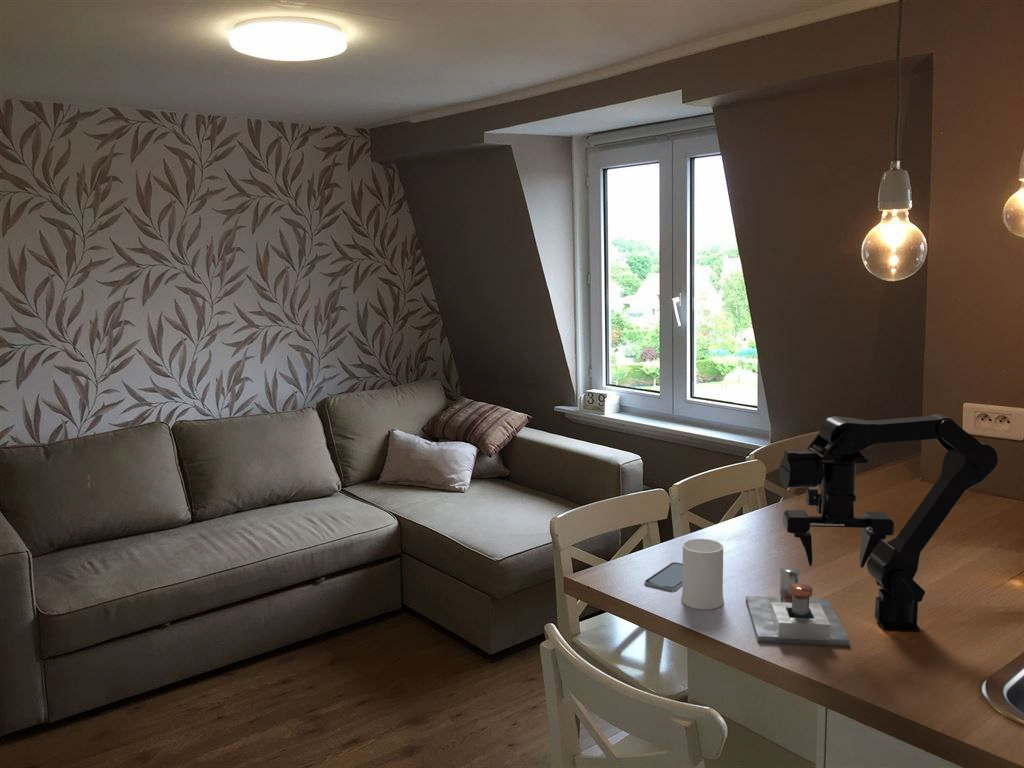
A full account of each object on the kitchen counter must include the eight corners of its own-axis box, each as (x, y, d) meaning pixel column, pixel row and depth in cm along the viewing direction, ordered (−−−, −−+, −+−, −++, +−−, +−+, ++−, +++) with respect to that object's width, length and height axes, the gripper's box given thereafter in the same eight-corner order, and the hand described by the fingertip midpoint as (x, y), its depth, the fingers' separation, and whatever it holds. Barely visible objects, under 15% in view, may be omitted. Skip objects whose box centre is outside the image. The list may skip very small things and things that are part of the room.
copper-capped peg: (808, 623, 159) (810, 583, 158) (813, 633, 155) (814, 592, 154) (786, 623, 160) (788, 583, 158) (790, 632, 156) (791, 591, 154)
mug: (696, 584, 182) (696, 531, 180) (734, 592, 177) (735, 537, 175) (674, 604, 172) (674, 548, 170) (715, 613, 168) (715, 555, 166)
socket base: (827, 604, 170) (828, 565, 169) (850, 647, 152) (851, 604, 151) (745, 601, 173) (746, 563, 171) (758, 643, 155) (759, 601, 153)
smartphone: (703, 568, 190) (674, 589, 178) (703, 572, 190) (674, 593, 178) (673, 561, 194) (642, 581, 182) (672, 565, 195) (642, 586, 183)
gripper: (879, 474, 163) (876, 552, 165) (779, 473, 165) (777, 549, 168) (896, 491, 152) (892, 574, 154) (789, 489, 155) (786, 570, 157)
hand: (835, 566), depth 159 cm, fingers open, 9 cm apart
